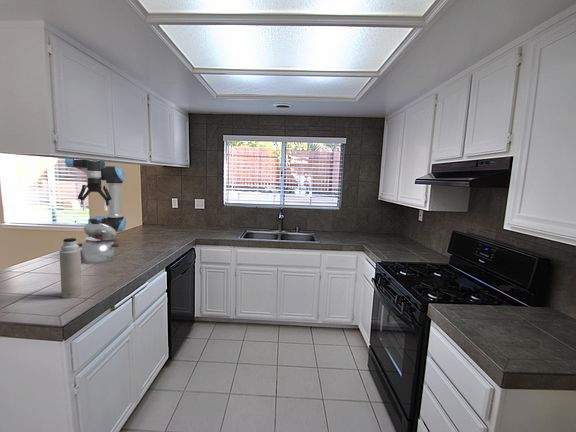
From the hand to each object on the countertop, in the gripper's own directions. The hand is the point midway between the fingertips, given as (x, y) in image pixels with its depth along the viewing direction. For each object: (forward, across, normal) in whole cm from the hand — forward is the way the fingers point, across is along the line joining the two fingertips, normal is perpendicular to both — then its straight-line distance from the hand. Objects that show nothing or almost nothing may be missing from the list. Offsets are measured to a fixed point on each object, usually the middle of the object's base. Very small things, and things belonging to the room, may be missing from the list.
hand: (95, 210), depth 192 cm
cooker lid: (+14, 0, +3) cm, 15 cm away
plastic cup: (+35, -10, +18) cm, 40 cm away
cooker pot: (+35, 0, +2) cm, 35 cm away
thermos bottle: (+35, +15, -59) cm, 70 cm away
